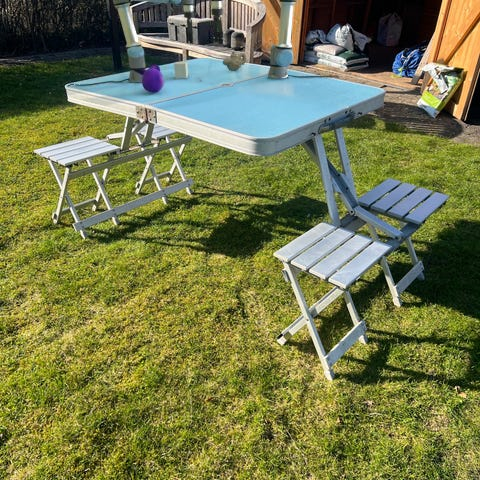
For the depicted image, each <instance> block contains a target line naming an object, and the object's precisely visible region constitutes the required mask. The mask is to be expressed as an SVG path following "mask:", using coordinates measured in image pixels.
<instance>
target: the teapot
mask: <svg viewBox="0 0 480 480" xmlns="http://www.w3.org/2000/svg"><path fill="white" fill-rule="evenodd" d="M241 58H242V60H241ZM246 62H247V56H246V54H245V53H244V52H241V53H239V54H238V55H237V53H236V52H235V50H233V51H231V54H230V57H225V58H224V59H222V65H224V66H226V68H227V69H228V71H230V72H237V71H238V70H239V69H241V68H242V66H243V65H245V64H246Z"/></svg>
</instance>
